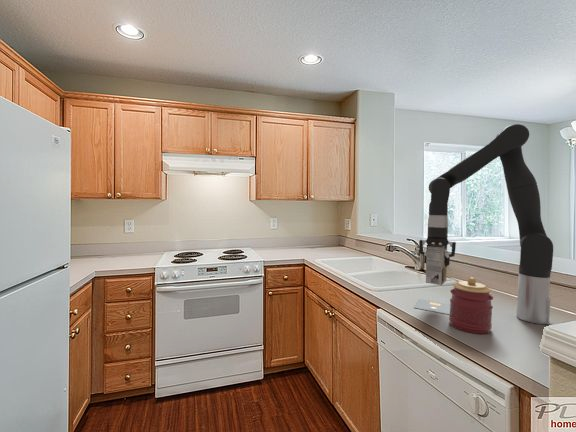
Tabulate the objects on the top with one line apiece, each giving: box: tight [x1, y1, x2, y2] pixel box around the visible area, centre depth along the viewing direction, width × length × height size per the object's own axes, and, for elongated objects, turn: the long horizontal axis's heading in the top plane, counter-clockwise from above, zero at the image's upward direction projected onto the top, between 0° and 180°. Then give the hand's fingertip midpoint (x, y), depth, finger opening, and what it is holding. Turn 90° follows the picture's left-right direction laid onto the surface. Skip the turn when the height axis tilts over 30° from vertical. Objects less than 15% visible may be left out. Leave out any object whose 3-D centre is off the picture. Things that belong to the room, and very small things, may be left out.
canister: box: [448, 277, 494, 335], centre depth 105 cm, size 13×13×18 cm
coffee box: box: [425, 243, 448, 286], centre depth 124 cm, size 9×6×16 cm
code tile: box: [413, 298, 450, 315], centre depth 125 cm, size 14×14×1 cm
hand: (436, 265), depth 124 cm, fingers closed on coffee box, 7 cm apart
